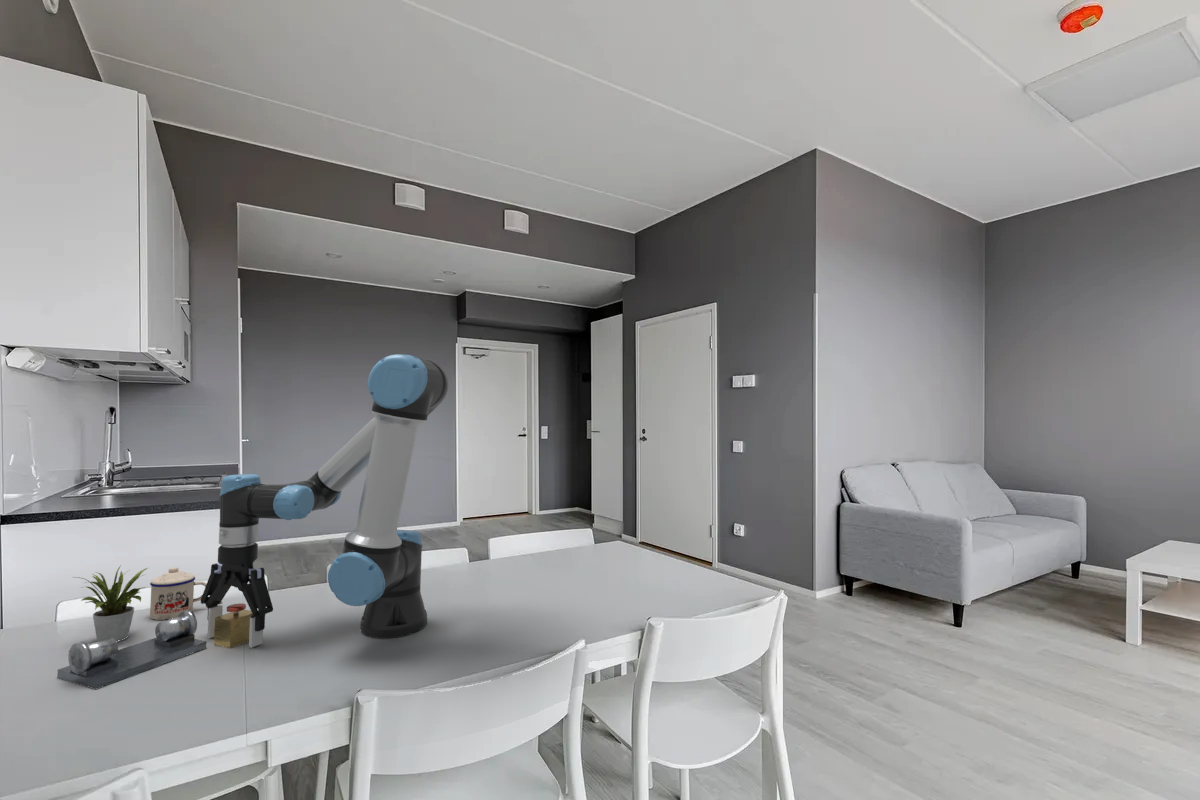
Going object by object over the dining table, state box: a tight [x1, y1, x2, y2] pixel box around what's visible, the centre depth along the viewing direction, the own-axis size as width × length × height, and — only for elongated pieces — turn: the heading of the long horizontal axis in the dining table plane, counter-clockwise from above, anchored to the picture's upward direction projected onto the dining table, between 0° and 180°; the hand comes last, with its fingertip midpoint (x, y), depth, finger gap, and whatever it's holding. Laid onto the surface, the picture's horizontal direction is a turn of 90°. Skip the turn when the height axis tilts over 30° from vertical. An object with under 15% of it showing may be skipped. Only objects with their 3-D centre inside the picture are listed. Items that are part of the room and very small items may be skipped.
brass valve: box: [213, 603, 253, 649], centre depth 126 cm, size 6×5×8 cm
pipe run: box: [57, 610, 207, 690], centre depth 115 cm, size 20×12×7 cm, turn 159°
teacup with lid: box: [149, 566, 207, 621], centre depth 143 cm, size 12×9×12 cm
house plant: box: [73, 566, 148, 642], centre depth 125 cm, size 14×14×16 cm
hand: (234, 640), depth 126 cm, fingers open, 12 cm apart
